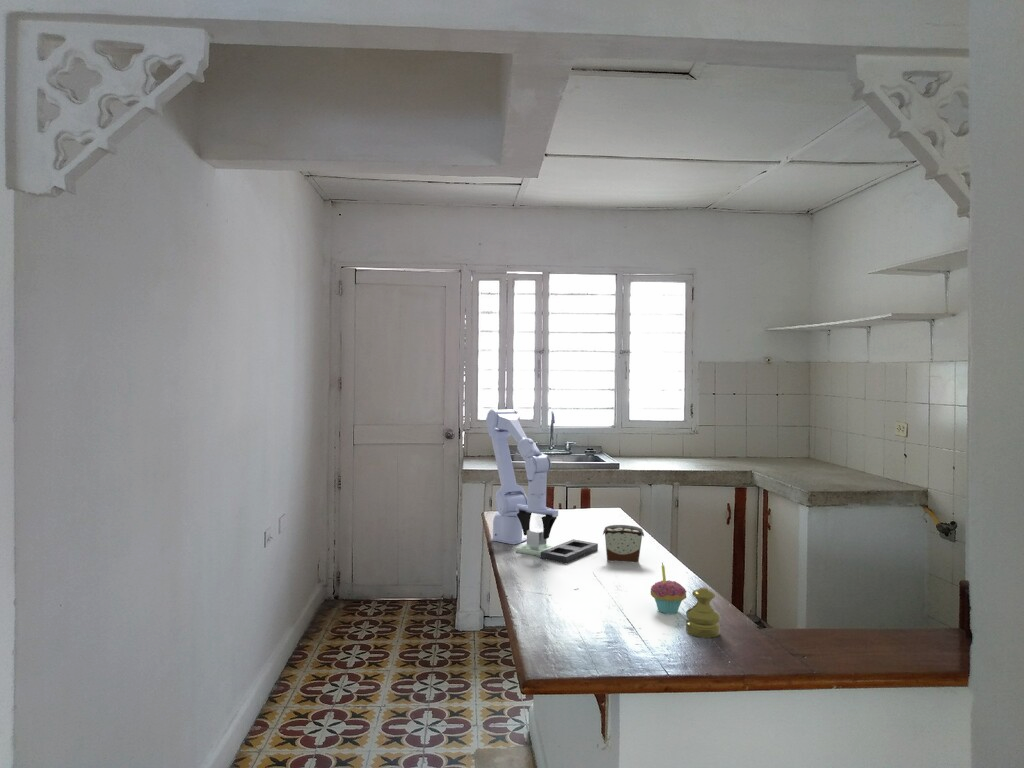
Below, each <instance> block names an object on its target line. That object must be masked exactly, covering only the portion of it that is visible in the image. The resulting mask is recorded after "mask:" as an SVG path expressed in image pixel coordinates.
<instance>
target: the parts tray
mask: <svg viewBox="0 0 1024 768" xmlns="http://www.w3.org/2000/svg"><path fill="white" fill-rule="evenodd" d="M555 546H556V545H555ZM555 546H554V545H550V544H546V549H544V550H547V549H550V548H552V547H555ZM544 550H541V551H536V550H531V549H527V543H525V544H522V545H520V546H517V547H515V552H516V553H520V554H524V555H529V554H530V555H529V556H534V555H536V556H535V557H539V556H541V552H542V551H544Z"/></svg>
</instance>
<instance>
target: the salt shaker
mask: <svg viewBox="0 0 1024 768" xmlns="http://www.w3.org/2000/svg"><path fill="white" fill-rule="evenodd" d="M691 595H692V596H693V597H694V598H695V599H696V601H697V602H696V603H695V604H694V605H693V606H692V607H690V608H688V609H687V610H686V612H685V613H686V614H685V615H686V618H687V619H686V621H685V631H686V632H687V633H688V634H689V635H690V636H693V635H694V636H693V637H696V636H697V638H700V637H706V638H705V639H712V638H711V637H714V638H717V637H719V636H720V634H721V624H720V623H719V622H720V621H721V617H722V616H721V614H720V613H719V612H718V610H715V608H714V606H712V605H711V603H710V602H711V601H712V600H713V599H715V598H716V593H715V592H714V591H712V590H711V589H709V588H708V587H703V586H702V587H699V588H696V589H695V590H693V591H692V594H691ZM716 636H717V637H716Z"/></svg>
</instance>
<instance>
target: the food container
mask: <svg viewBox="0 0 1024 768" xmlns="http://www.w3.org/2000/svg"><path fill="white" fill-rule="evenodd" d="M602 535H604V538H605V541H604V542H605V550H606V561H607V562H611V561H613V563H615V562H616V563H632V562H634V564H638V563H639V562H640V561H639V560H640V556H641V555H640V553H641V549H642V548H641V545H642V539H643V538H645V533H644V530H643V528H641V527H638V526H633V525H630V524H629V525H628V524H611V525H607V526H605V527H604V529H603V533H602Z"/></svg>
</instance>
